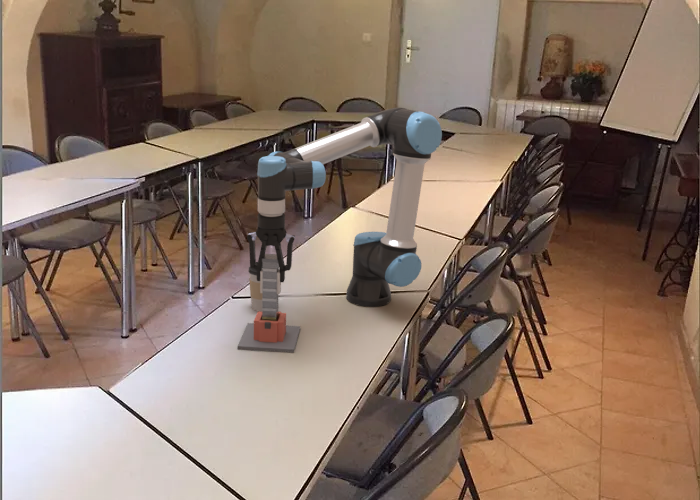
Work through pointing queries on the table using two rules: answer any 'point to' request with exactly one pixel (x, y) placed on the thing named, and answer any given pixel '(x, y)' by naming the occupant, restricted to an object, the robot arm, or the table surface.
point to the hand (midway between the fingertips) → (270, 291)
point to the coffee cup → (255, 290)
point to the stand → (269, 335)
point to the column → (270, 287)
